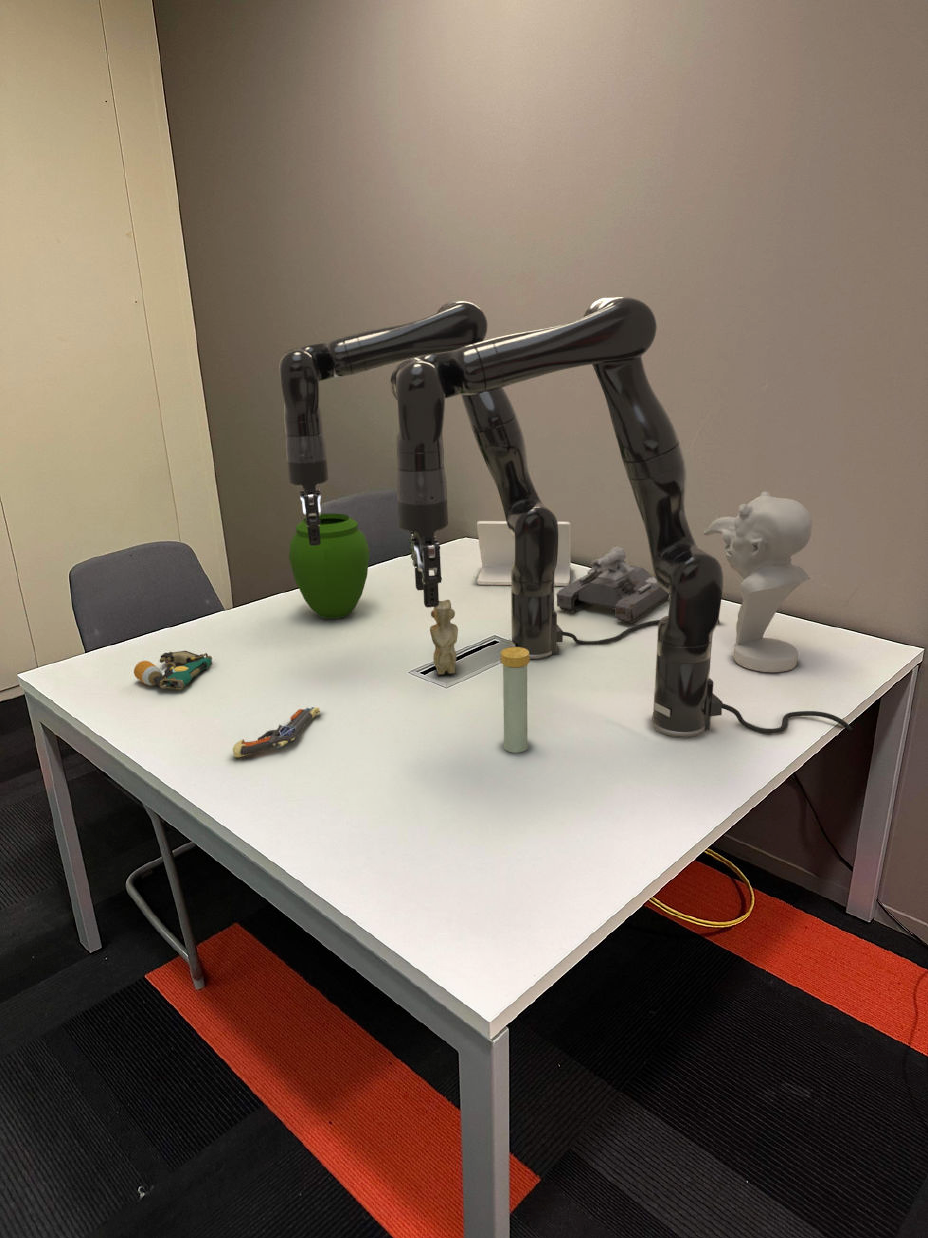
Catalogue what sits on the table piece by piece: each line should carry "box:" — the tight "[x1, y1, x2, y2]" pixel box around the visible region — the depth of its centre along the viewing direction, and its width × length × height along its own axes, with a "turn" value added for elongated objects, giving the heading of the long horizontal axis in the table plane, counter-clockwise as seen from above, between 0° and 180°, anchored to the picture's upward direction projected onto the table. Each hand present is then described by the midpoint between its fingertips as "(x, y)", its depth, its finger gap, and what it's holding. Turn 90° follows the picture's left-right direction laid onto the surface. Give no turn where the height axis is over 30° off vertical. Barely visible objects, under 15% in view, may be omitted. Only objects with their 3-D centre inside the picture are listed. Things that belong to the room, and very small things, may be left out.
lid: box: [500, 646, 531, 667], centre depth 142 cm, size 5×5×2 cm
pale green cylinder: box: [502, 664, 528, 754], centre depth 145 cm, size 4×4×18 cm
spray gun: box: [133, 650, 213, 690], centre depth 180 cm, size 4×17×15 cm
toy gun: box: [232, 706, 321, 758], centre depth 154 cm, size 3×19×10 cm
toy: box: [556, 546, 670, 624], centre depth 212 cm, size 25×20×15 cm
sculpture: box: [429, 599, 459, 675], centre depth 177 cm, size 6×7×15 cm
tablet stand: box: [476, 520, 572, 587], centre depth 236 cm, size 18×25×17 cm
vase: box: [288, 512, 370, 620], centre depth 209 cm, size 20×20×24 cm
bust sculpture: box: [702, 491, 813, 673], centre depth 177 cm, size 16×24×35 cm, turn 28°
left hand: (314, 539), depth 170 cm, fingers open, 8 cm apart
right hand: (427, 597), depth 135 cm, fingers open, 8 cm apart
